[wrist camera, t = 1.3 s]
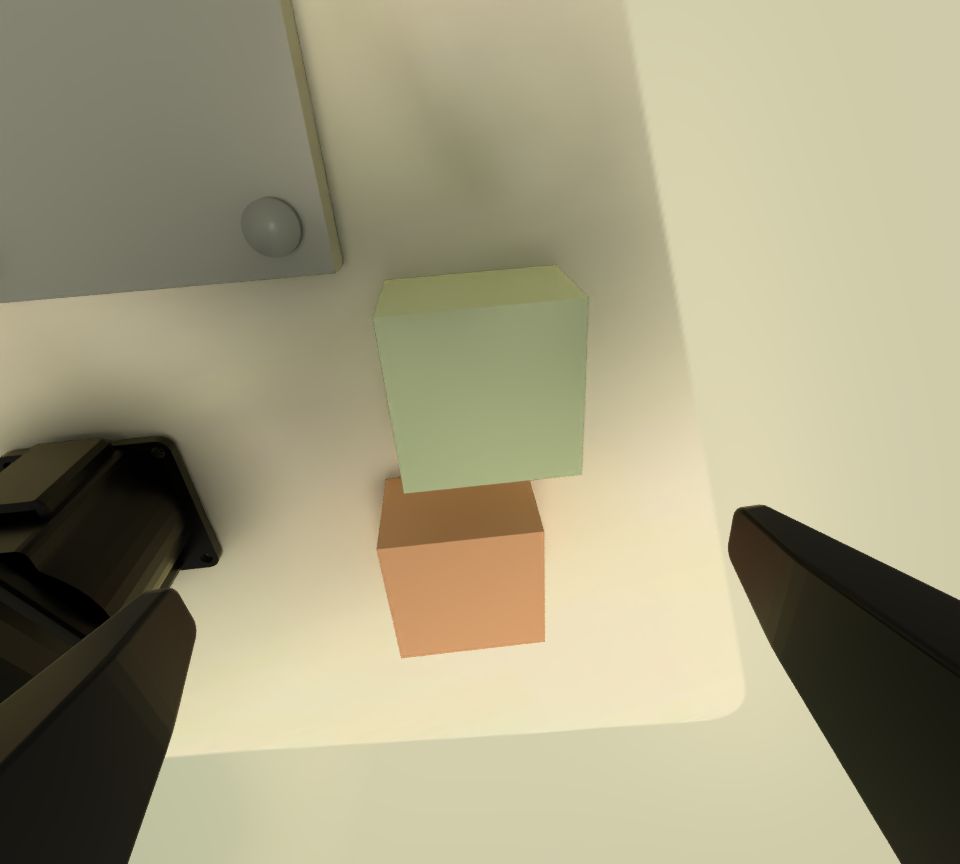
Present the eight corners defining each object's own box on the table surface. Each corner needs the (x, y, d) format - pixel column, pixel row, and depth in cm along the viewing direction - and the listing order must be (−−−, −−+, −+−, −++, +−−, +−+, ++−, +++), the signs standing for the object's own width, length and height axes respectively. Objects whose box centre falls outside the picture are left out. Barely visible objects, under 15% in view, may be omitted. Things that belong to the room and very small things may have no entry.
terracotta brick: (527, 564, 25) (544, 641, 21) (406, 577, 25) (401, 658, 21) (524, 462, 22) (544, 531, 18) (386, 476, 22) (376, 549, 18)
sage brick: (554, 413, 21) (582, 474, 17) (409, 427, 21) (403, 493, 17) (554, 263, 18) (588, 297, 14) (385, 279, 18) (372, 317, 14)
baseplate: (343, 262, 17) (333, 276, 16) (-22, 295, 17) (-74, 313, 15) (232, -295, 11) (196, -373, 10) (-338, -267, 11) (-484, -344, 9)
